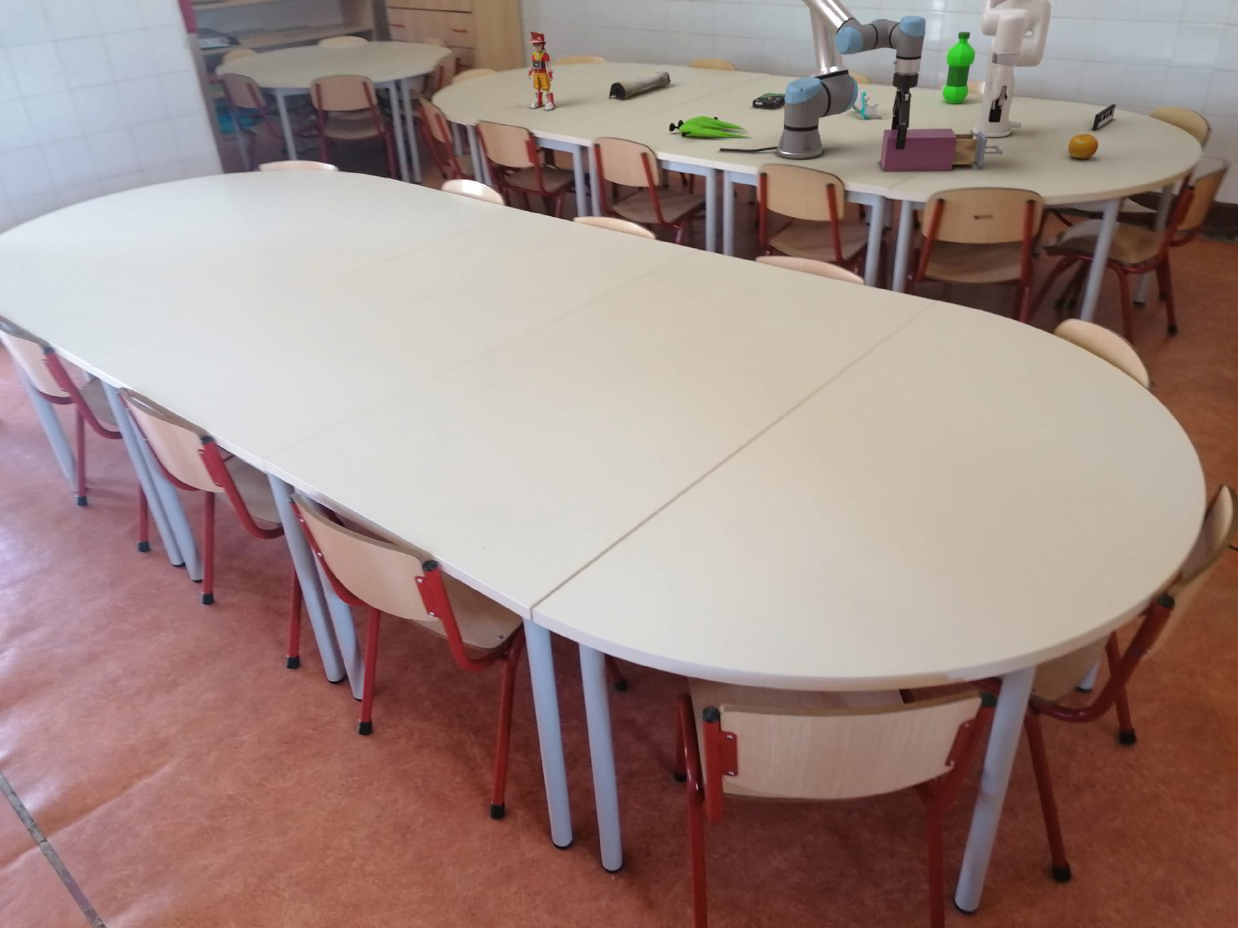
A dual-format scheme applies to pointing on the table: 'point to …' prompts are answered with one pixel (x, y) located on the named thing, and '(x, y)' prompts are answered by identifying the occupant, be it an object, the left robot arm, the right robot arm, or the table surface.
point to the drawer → (972, 149)
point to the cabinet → (919, 150)
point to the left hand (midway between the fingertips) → (897, 143)
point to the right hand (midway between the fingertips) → (993, 121)
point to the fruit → (1082, 146)
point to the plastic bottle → (958, 69)
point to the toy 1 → (541, 71)
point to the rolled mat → (638, 84)
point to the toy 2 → (705, 127)
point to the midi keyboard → (1103, 116)
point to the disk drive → (769, 100)
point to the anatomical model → (865, 106)
